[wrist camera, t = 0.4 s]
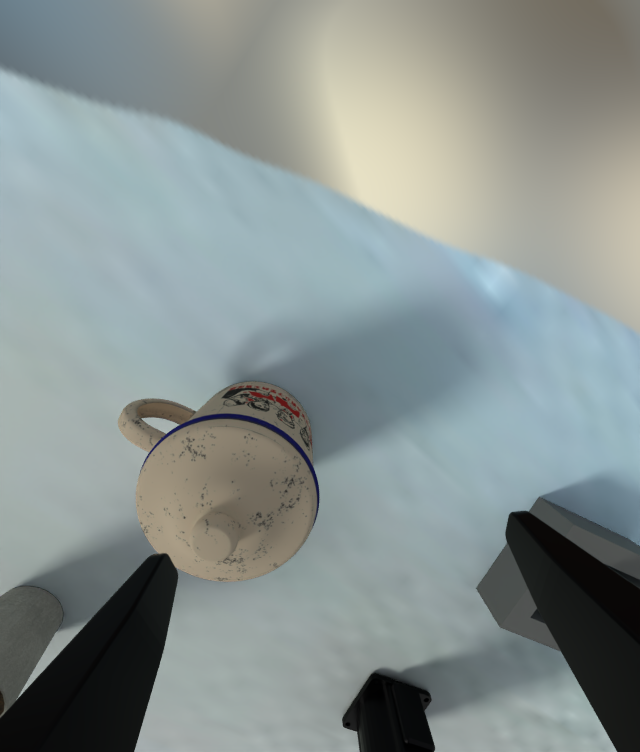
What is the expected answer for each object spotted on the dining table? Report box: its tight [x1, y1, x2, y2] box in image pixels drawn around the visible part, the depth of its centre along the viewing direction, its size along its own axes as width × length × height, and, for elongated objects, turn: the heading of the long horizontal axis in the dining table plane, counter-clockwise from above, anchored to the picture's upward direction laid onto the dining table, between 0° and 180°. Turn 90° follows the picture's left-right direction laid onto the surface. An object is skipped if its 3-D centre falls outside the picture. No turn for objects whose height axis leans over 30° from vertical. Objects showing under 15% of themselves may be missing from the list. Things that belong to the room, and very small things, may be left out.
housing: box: [476, 497, 640, 651], centre depth 26 cm, size 10×10×4 cm
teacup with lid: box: [118, 382, 319, 582], centre depth 18 cm, size 12×9×12 cm
